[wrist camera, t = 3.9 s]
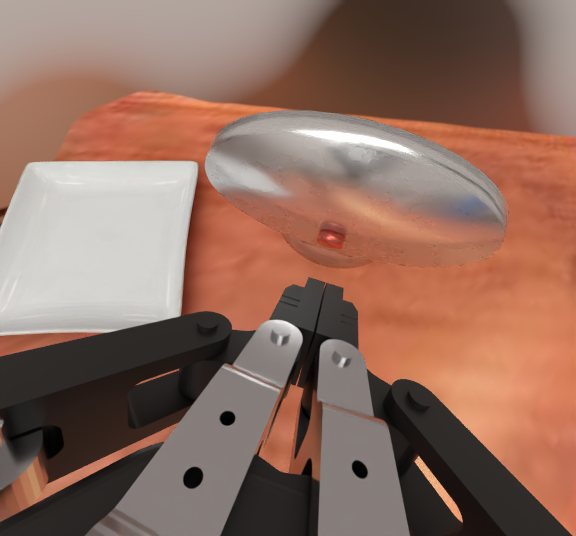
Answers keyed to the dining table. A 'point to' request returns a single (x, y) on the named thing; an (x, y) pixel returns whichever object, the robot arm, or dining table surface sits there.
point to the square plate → (95, 245)
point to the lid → (358, 188)
